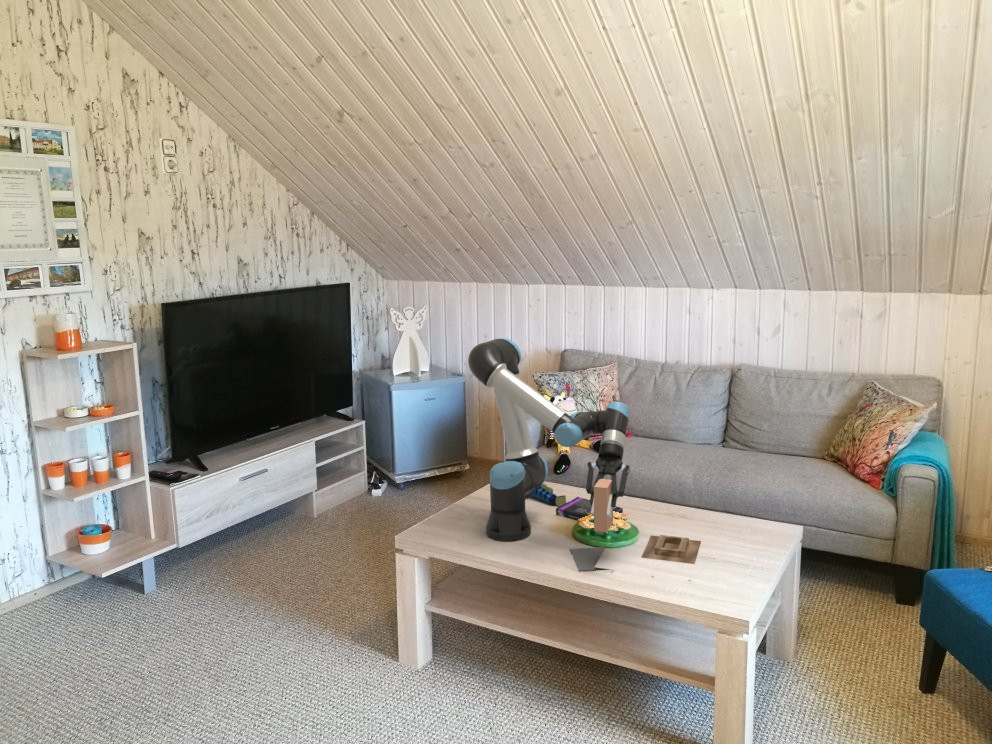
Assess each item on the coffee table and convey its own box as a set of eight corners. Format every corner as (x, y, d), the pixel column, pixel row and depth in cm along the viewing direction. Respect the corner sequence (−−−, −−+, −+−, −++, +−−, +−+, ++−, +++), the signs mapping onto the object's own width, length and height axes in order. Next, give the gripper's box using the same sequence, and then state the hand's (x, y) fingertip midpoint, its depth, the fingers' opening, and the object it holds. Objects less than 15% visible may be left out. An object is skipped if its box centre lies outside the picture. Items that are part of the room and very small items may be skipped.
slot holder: (641, 561, 245) (641, 551, 245) (650, 539, 262) (651, 529, 261) (694, 568, 240) (694, 557, 239) (701, 545, 257) (701, 535, 256)
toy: (534, 487, 315) (535, 463, 312) (578, 509, 296) (580, 484, 293) (507, 495, 306) (508, 471, 304) (551, 518, 287) (552, 492, 285)
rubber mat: (579, 571, 240) (579, 570, 240) (570, 550, 255) (570, 548, 255) (631, 568, 241) (631, 567, 241) (619, 547, 257) (619, 546, 257)
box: (555, 517, 286) (602, 528, 274) (555, 508, 285) (601, 519, 273) (577, 505, 297) (623, 516, 284) (577, 496, 296) (623, 506, 283)
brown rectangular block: (594, 531, 243) (593, 486, 240) (600, 521, 250) (599, 478, 247) (607, 532, 241) (606, 487, 239) (612, 522, 249) (612, 479, 246)
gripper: (640, 455, 253) (630, 523, 241) (587, 451, 259) (575, 517, 247) (637, 443, 247) (627, 512, 235) (583, 439, 253) (570, 507, 241)
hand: (600, 515), depth 241 cm, fingers closed on brown rectangular block, 4 cm apart
